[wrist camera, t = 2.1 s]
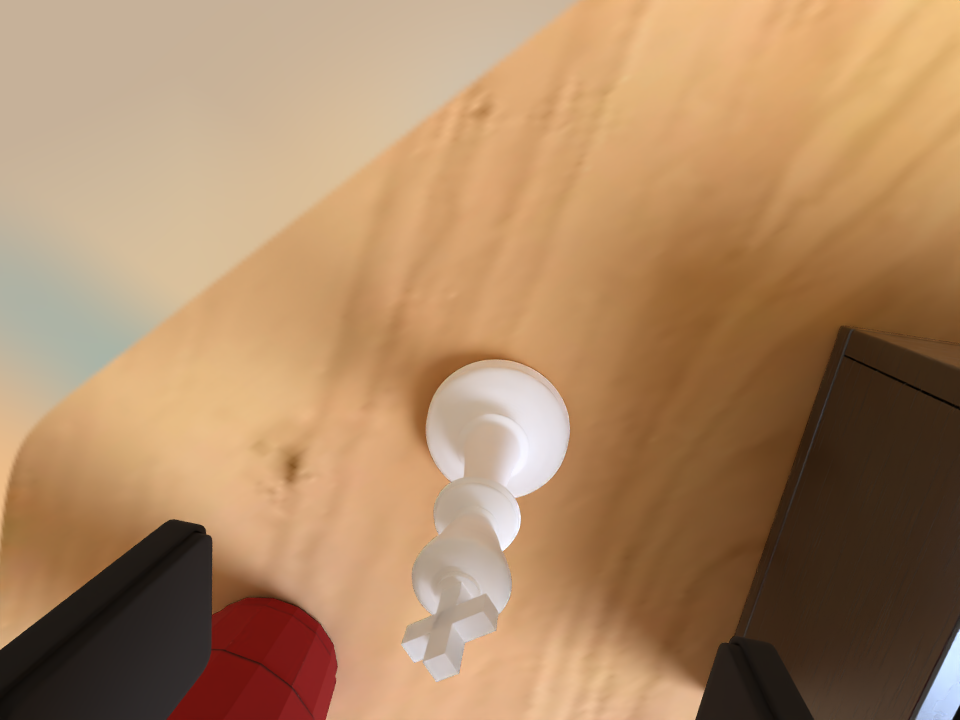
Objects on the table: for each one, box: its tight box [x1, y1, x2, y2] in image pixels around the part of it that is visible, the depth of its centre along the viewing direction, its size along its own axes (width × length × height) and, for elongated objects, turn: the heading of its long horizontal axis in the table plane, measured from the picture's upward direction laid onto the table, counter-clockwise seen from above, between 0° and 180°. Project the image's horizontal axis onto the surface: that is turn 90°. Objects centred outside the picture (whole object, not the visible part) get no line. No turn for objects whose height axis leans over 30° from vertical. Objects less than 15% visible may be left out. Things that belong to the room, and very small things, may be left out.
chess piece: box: [401, 359, 570, 682], centre depth 13 cm, size 5×5×10 cm
